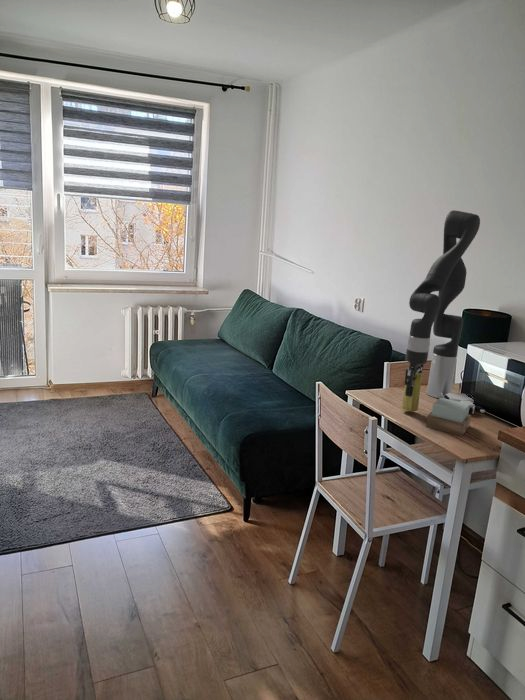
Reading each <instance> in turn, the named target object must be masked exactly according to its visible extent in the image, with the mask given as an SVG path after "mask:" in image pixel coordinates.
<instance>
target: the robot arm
mask: <svg viewBox="0 0 525 700" xmlns="http://www.w3.org/2000/svg"><path fill="white" fill-rule="evenodd" d="M480 225H481V218H480V216H479V215H478V214H475V213H472V212H465V211H460V210H451V211H449V212H448V213H447V215H446V218H445V221H444V225H443V226H444V228H443V246H442V247H443V249H442V250H443V251H442V255H440V256H439V257H438V258H437V259H436V260H435V261H434V262H433V263H432V265H431V267H430V268H429V271H428V273H427V274H426V277H425V278H424V280H423V281H422V282H421V283H420V284H419V285H418V287H417V288H416V289H415V290H414V291H413V292H412V294H411V295H410V297H409V302H408V305H409V307H410V309H411V310H412V311H413V312H417V313H422V314H423V316H422V317H421V318H414V319H412V321H411V322H410V323H411V324H410V329H409V336H408V340H407V345H406V351H405V359H404V360H405V361H406V362H408V363H409V365H408V366H407V368H406V369H405V375H404V376H405V377H404V386H405V385H406V393H405V395H406V396H409V397H411V396H412V391H413V386H414V381H416V379H417V373H420V372H421V371H422V372H423V370H424V365H425V364H427V363H428V357H429V351H430V345H431V344H430V343H431V342H430V341H431V334H432V333H433V335H434V336H435V337H439V338H445V339H451V340H449V341H448V342H446V343H441V344H436V345H434V346H433V349H432V356H431V363H430V369H429V374H428V375H429V376H428V382H427V388H426V395H427V396H429V397H432V398H435V399H439V398H443V396H445V395H446V394H448V393H452V392H451V391H452V387H453V380H454V374H455V369H456V365H457V364H456V363H457V357H458V350H459V344H460V340H461V335H462V331H463V327H464V319H463V317H462V316H460V315H453V314H448V313H447V314H446V313H445V311H446V310H447V308H448V307H449V306H450V304H451V303H452V302H454V301H455V299H456V298H458V297H459V295H460V294H461V293H462V292H463V291H464V289H465V285H466V280H467V267H466V264H465V263H464V260H463V259H462V256H463V255H464V254H465V252H466V251H467V250H468V248H469V247H470V245H471V244H472V242H473V240H474V239H475V238H476V235H477V234H478V232H479V230H480V229H479V228H480ZM457 239H458V241H457ZM435 292H438V294H435ZM432 327H433V328H432ZM415 373H416V374H415ZM413 375H415V377H414V378H413ZM409 380H410V382H409ZM441 393H442V395H443V396H442V395H441Z"/></svg>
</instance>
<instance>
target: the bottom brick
mask: <svg viewBox="0 0 525 700" xmlns="http://www.w3.org/2000/svg"><path fill="white" fill-rule="evenodd" d="M431 414H432V411H431V412H430V413H429V414H428V415H427V418H426V424H425V427H427V428H429V427H430V429H433V430H437V429H438V431H441V430H442V432H445V433H450V434H452V435H456V436H461V437H462V436H463V435H464V434H465V432H466V431H467V430H468V429H469V427H470V426H471V425H470V424H471V418H472V415H471V414H468V416H467V417H466V418H465V419H464V421H463V422H462V423H460V422H456V421H452V420H447V419H443V418H439V417H435V416H431Z"/></svg>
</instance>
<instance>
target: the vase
mask: <svg viewBox="0 0 525 700" xmlns="http://www.w3.org/2000/svg"><path fill="white" fill-rule="evenodd" d="M415 374H416V373H415ZM414 377H415V375H413V378H414ZM422 380H423V370H422V371H421V372H420V373H417V379H416V381H414V386H413V391H412V396H411V397H409V396H406V395H405V393H406V385H405V384H404V390H403V396H402V402H401V405H400V408H401V409H402V410H403V411H407V412H417V411H419V405H420V404H419V403H420V394H421V386H422ZM409 382H410V380H409Z"/></svg>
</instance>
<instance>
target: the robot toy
mask: <svg viewBox="0 0 525 700" xmlns="http://www.w3.org/2000/svg"><path fill="white" fill-rule="evenodd" d="M441 395H442V393H441ZM467 395H468V394H467ZM467 395H466V393H461V392H451V393H448V394H446V395H445V396H443V395H442V396H443V398H444V399H449V400H453V401H458V402H462V403H466V404H470V406H469V411H468V415H470V414H475V413H474V412H478V413H485V412H486V410H485V409H483V407H482V406H480V405H475V402H474V400H475V399H474V398H473V397H472V398H473V399H474V400H473V399H472V398H470V397H468V396H467ZM473 403H474V404H473ZM469 413H470V414H469Z"/></svg>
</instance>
